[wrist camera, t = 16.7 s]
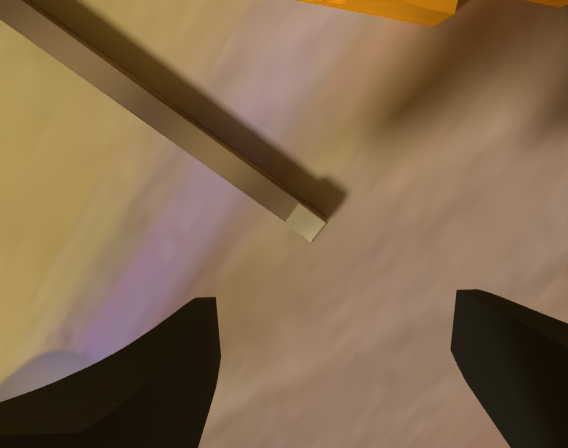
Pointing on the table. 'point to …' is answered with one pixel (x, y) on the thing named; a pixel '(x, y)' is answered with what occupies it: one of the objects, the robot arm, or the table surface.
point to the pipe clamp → (409, 8)
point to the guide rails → (160, 115)
